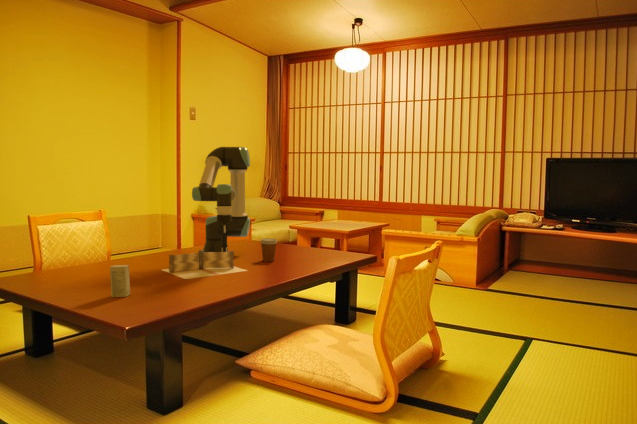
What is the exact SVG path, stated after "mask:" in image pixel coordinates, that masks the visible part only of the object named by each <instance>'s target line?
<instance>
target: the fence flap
mask: <svg viewBox="0 0 637 424" xmlns="http://www.w3.org/2000/svg"><path fill="white" fill-rule="evenodd" d="M234 252H235V251H234V250H230V251H228V252H204V253H203V268H234V267H235V263H234V262H235V261H234V260H235V254H234Z"/></svg>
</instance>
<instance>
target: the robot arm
mask: <svg viewBox="0 0 637 424" xmlns="http://www.w3.org/2000/svg"><path fill="white" fill-rule="evenodd" d="M204 163H205V164H204V165H205V166H204V168H203V169H204V170H203V172H202V176H201V178H200V180H199V183H198V186H193V188H192V190H191V197H192V200H193V201H196V202H216V207H215V210H216V214H217V215H213V216H211V215H210V216H208V217H206V218H205V225H204V226H205V243H204V245H203V247H202V248H203V249H202V250H203V253H204V252H229V248H228V247H229V245H228V238H229V237H233V238H234V237H235V238H244V237H248V235H249V233H250V227H251V217H248V216H249V215H248V213H247V212H246V172H248V168H249V167H251V158H250V153H249V149H248V148H247V147H243V146H219V147H217V148H214V149H213V150H211V151H210V153H208V154H207V156H206V157H205V161H204ZM221 167H227V170H228V172H229V173H230V184H229V183H228V184H227V183H226V184H225V183H224V184H223V183H219V184H217V185H216V187H215V186H214V185H215V182H216V178H217V176H218V172H219V170H220V169H221Z"/></svg>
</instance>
